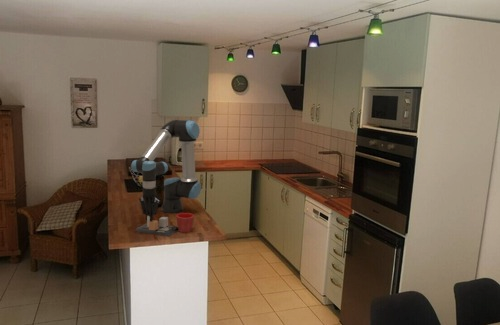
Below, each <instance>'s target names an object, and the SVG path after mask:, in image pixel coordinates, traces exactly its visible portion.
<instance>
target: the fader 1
mask: <svg viewBox="0 0 500 325" xmlns="http://www.w3.org/2000/svg"><path fill="white" fill-rule="evenodd" d="M158 224H159V220H157V219H155V220H154V219H153V221H149V230H153V231H155V230H157V229H158Z"/></svg>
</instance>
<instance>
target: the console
mask: <svg viewBox="0 0 500 325" xmlns="http://www.w3.org/2000/svg"><path fill="white" fill-rule="evenodd" d="M135 231H136V232H137V233H145V234H150V235H151V234H152V235H158V236H165V237H170V236H171V235H173V234H175V233H176V232H179V230H178V226H173V225H168V226H166V227H160V226H159V223H158V229H157V230H155V231H153V230H149V227H148V226H147V222H146V223H144V224H142V225H140V226H138V227H136V228H135Z"/></svg>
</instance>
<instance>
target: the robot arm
mask: <svg viewBox="0 0 500 325" xmlns="http://www.w3.org/2000/svg"><path fill="white" fill-rule="evenodd" d="M200 132H201V131H200V126H199V124H198V123H197V122H196V121H194V120H187V119H186V120H185V119H173V120H171V121H168V122H167V123H165V124H164V125H163V126H162V127H161V128H160V129H159V131H158V133H157V135H156V137H155V138H154V140H152V142H151V143H150V144H149V146H148V147H147V149H146V150H145V152H143V154H142V155H141V156H140V158H139V159H135V160H133V161H132V162H131V166H130V168H131V170H132V172H135V173H140V174H141V173H142V197H140V198H138V200H139V202H140V206H141V207H140V208H141V210H142V214H143V215H145V220H146V223H147V226H148V227H149V221H153V220H154V215H157V212H158V211H157V210H158V207H159V203H160V201H161V200H160V199H158V198H157V195H156V194H157V189H156V187H157V186H156V184H157V182H156V181H157V180H156V177H157V176H160V175H164V174H166V173H167V172H168V170H169V165H168V163H167V162H165V161H158V162H157V161H154V160H155V159H156V158H157V156H158V155H159V153H160V152H161V151H162V149H163V148H164V147H165V145H166V144H167V143H168V142H169V141H171V140H172V139H173V138H178V142H180V144H181V146H180V147H181V162H182V163H181V167H182V169H181V170H182V177H179V176H178V177H176V176H175V177H170V178H166V179H164V181H163V197H164V198H163V202H162V205H161V211H162V212H163V213H167V214H176V213H177V214H178V213H182V212H183V211H184V205H183V202H182V198H184V199H191V200H192V199H193V200H195V199H197V198H198V197H199V196H200V194H201V192H202V184H201V182H199V181H198V180H199V179H198V178H197V176H196V159H195V158H196V157H195V156H196V155H195V143H196V141H197V139H198V138H199V137H200Z"/></svg>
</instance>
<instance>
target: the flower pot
mask: <svg viewBox="0 0 500 325" xmlns="http://www.w3.org/2000/svg"><path fill="white" fill-rule="evenodd" d="M175 217H176V223H177V227H178V232H180V233H191V232H192V229H193V223H194V219H195V215H194V214H193V213H190V212H179V213H177V214H176V216H175Z"/></svg>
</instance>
